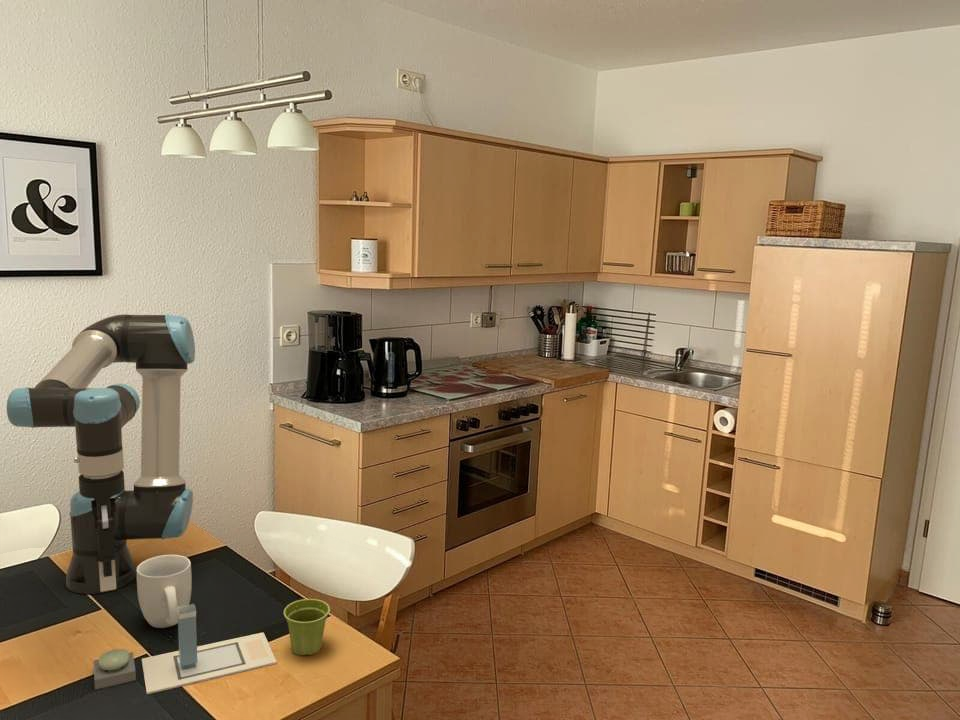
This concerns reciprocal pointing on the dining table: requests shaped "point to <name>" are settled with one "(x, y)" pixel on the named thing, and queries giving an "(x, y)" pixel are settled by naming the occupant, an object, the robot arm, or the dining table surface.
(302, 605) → the plant pot
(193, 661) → the square grey prism
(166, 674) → the sheet
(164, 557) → the mug
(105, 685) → the button housing
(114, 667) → the button
